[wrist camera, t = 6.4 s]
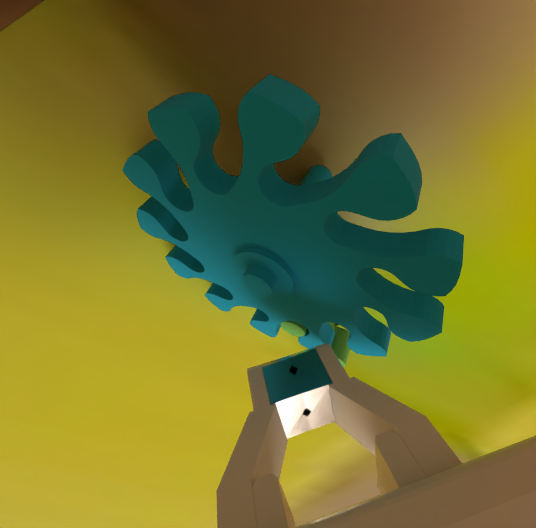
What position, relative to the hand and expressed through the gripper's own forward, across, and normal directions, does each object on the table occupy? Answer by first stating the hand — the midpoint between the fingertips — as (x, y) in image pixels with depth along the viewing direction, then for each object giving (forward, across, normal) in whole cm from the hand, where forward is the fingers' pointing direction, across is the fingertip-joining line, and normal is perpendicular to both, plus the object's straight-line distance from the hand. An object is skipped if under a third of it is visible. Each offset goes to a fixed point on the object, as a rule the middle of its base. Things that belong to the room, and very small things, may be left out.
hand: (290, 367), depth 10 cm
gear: (+5, 0, -3) cm, 6 cm away
